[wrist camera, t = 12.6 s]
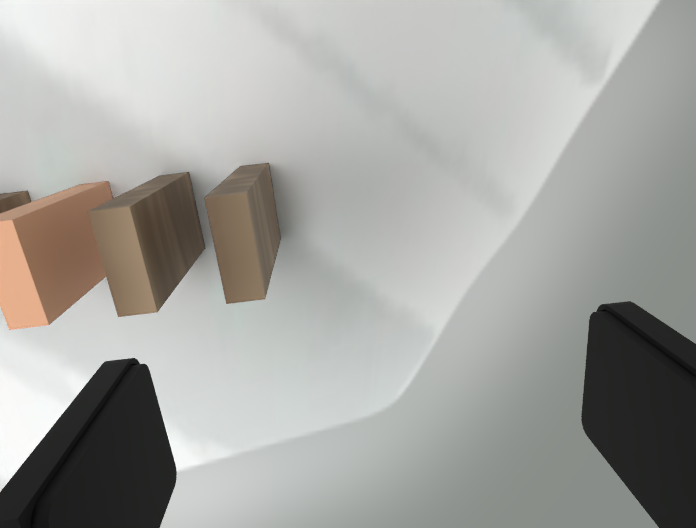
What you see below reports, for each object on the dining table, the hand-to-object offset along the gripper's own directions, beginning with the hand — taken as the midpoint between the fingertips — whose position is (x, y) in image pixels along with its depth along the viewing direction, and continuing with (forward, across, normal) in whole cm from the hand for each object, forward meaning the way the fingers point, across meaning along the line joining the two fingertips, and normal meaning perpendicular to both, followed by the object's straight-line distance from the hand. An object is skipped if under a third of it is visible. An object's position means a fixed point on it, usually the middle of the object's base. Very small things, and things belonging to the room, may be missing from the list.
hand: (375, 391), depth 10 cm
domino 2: (+22, +10, 0) cm, 24 cm away
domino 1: (+22, +15, 0) cm, 27 cm away
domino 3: (+22, +5, 0) cm, 23 cm away
